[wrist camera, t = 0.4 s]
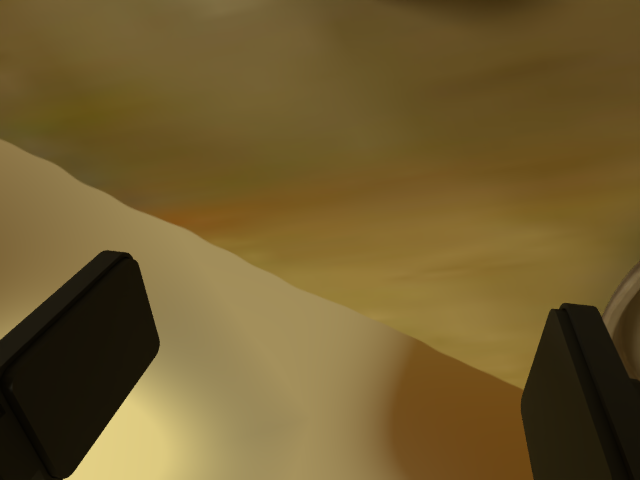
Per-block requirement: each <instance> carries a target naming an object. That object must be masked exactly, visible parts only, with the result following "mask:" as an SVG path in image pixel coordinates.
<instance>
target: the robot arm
mask: <svg viewBox="0 0 640 480" xmlns="http://www.w3.org/2000/svg"><path fill="white" fill-rule="evenodd" d="M159 346H160V341H159V337H158V333H157V330H156V326H155V322H154V319H153V315H152V311H151V308H150V304H149V301H148V297H147V294H146V290H145V286H144V283H143V279H142V275H141V272H140V268H139V265H138V262H137V261H136V260H134V259H133V257H132V256H131V255H130V254H129V253H126V252H116V251H108V250H107V251H103V252H101V253H99V254H98V255H97V256H96V257H95V258H94V259H93V260H92V261H91V262H89V263H88V264H87V265H86V266H85V267H83V268H82V269H81V270H80V271H79V272H78V273H77V274H75V275H74V276H73V277H72V278H71V279H70V280H68V281H67V282H66V283H65V284H64V285H63V286H62V287H61V288H59V289H58V290H57V291H56V292H55V293H54V294H53V295H51V296H50V297H49V298H48V299H47V300H46V301H44V302H43V303H42V304H41V305H40V306H39V307H38V308H37V309H35V310H34V311H33V312H32V313H31V314H30V315H28V316H27V317H26V318H25V319H24V320H23V321H22V322H21V323H19V324H18V325H17V326H16V327H15V328H14V329H12V330H11V331H10V332H9V333H8V334H7V335H5V337H3V338H2V339H1V340H0V480H63V479H65V478H68V477H69V476H70V475H71V474H72V473H73V472H74V471H75V470H76V468H77V467H78V465H79V464H80V462H81V461H82V460H83V458H84V457H85V455H86V454H87V452H88V451H89V450H90V448H91V447H92V445H93V444H94V443H95V441H96V440H97V438H98V437H99V436H100V434H101V433H102V431H103V430H104V428H105V427H106V426H107V424H108V423H109V421H110V420H111V418H112V417H113V416H114V414H115V413H116V412H117V410H118V409H119V407H120V406H121V404H122V403H123V402H124V400H125V399H126V397H127V396H128V394H129V393H130V391H131V390H132V389H133V388H134V386H135V385H136V383H137V382H138V380H139V379H140V377H141V376H142V375H143V373H144V372H145V371H146V369H147V368H148V366H149V365H150V363H151V362H152V361H153V359H154V358H155V356H156V355H157V353H158V350H159ZM521 414H522V420H523V425H524V430H525V435H526V441H527V446H528V451H529V457H530V462H531V468H532V472H533V478H534V480H640V381H639V380H637V379H632V378H629V375H628V373H627V371H626V369H625V367H624V365H623V363H622V360H621V358H620V356H619V354H618V352H617V350H616V347H615V345H614V343H613V341H612V339H611V337H610V334H609V332H608V330H607V328H606V326H605V324H604V322H603V319H602V317H601V315H600V313H599V311H598V309H597V308H596V307H594V306H587V305H579V304H570V303H563V304H562V305H561V306H560V308H559V309H551V310H550V312H549V315H548V318H547V321H546V324H545V327H544V330H543V333H542V336H541V339H540V342H539V345H538V349H537V352H536V355H535V358H534V361H533V364H532V367H531V370H530V373H529V376H528V379H527V382H526V385H525V389H524V392H523V395H522V399H521Z"/></svg>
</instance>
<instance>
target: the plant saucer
mask: <svg viewBox="0 0 640 480" xmlns="http://www.w3.org/2000/svg"><path fill="white" fill-rule="evenodd" d="M602 319H603V322H604V324H605V326H606V328H607V330H608V332H609V334H610V337H611V339H612V341H613V343H614V345H615V347H616V350H617V352H618V354H619V356H620V358H621V360H622V363H623V365H624V367H625V369H626V371H627V373H628V375H629V378H632V379H637V380H639V381H640V261H639V262H638V263H637V264H636V265H635V266H634V267H633V268H632V269H631V271H630V272H629V273H628V274H627V275H626V276H625V278H624V279H623V280H622V282H621V283H620V284H619V286H618V287H617V289H616V290H615V292H614V294H613V295H612V297H611V299H610V301H609V303H608V305H607V307H606V309H605V311H604V313H603V316H602Z"/></svg>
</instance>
